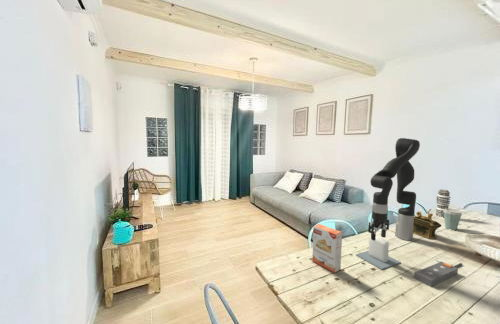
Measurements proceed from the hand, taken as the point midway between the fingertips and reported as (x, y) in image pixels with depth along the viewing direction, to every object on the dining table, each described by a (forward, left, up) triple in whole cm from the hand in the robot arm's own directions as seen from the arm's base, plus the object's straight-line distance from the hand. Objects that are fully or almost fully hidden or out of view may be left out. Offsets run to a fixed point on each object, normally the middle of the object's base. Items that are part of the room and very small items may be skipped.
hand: (378, 238), depth 122 cm
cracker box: (-7, -32, -12) cm, 35 cm away
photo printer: (0, 0, -12) cm, 12 cm away
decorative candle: (-23, +119, -12) cm, 122 cm away
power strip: (+23, +18, -12) cm, 32 cm away
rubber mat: (0, 0, -12) cm, 12 cm away
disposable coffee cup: (-6, +94, -12) cm, 95 cm away
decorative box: (-10, +62, -12) cm, 64 cm away
